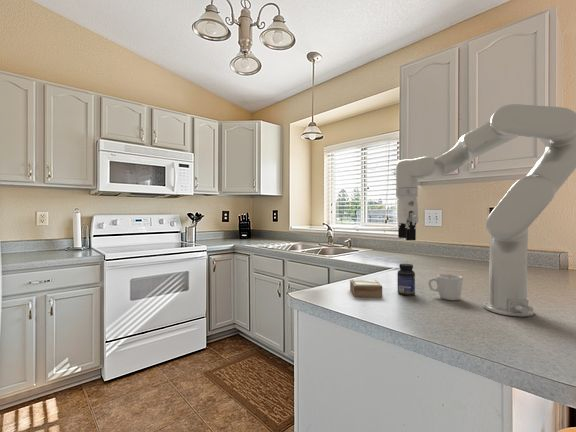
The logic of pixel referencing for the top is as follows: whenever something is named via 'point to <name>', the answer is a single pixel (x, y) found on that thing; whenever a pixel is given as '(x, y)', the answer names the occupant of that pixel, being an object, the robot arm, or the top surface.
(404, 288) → the pill bottle
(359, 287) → the base block
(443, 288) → the cup
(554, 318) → the top surface
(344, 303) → the top surface
